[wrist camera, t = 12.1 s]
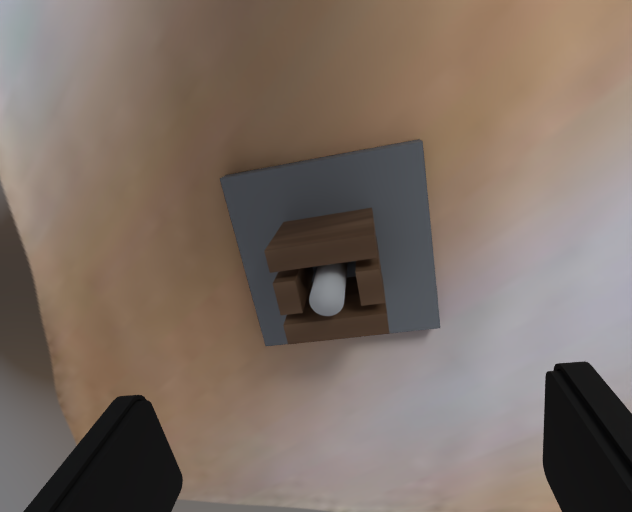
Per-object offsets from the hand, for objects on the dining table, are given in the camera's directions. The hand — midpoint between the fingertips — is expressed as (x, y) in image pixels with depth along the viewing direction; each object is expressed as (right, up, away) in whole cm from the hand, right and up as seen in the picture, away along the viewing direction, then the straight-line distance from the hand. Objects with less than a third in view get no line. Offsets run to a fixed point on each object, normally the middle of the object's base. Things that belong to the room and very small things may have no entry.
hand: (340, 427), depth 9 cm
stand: (+1, +5, +21) cm, 21 cm away
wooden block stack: (+1, +4, +20) cm, 20 cm away
